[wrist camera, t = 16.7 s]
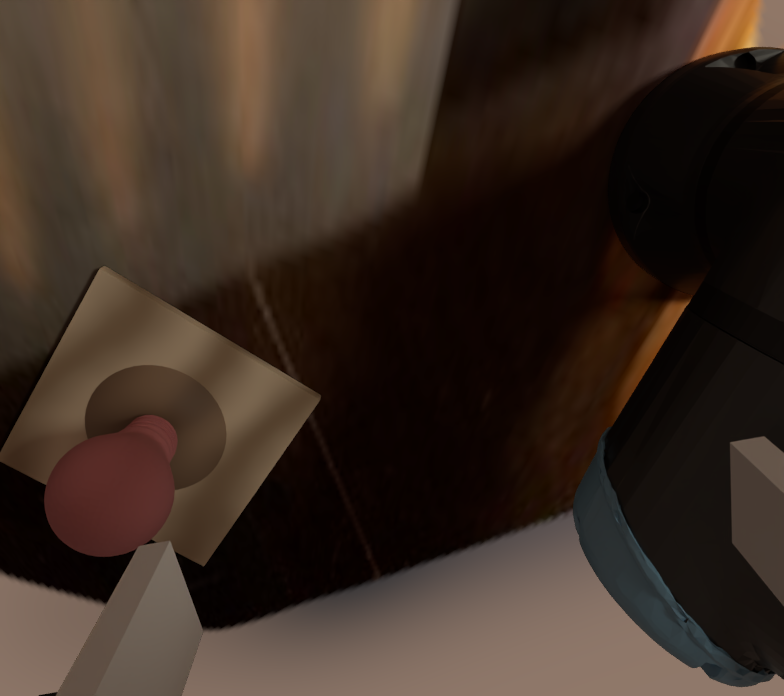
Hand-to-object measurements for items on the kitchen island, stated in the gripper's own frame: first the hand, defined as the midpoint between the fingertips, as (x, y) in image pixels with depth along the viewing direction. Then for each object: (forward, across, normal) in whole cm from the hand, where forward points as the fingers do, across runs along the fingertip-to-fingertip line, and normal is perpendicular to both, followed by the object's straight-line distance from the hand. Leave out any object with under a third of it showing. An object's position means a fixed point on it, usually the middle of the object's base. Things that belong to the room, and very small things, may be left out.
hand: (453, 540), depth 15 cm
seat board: (+31, +20, +8) cm, 38 cm away
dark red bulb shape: (+30, +20, +8) cm, 37 cm away
